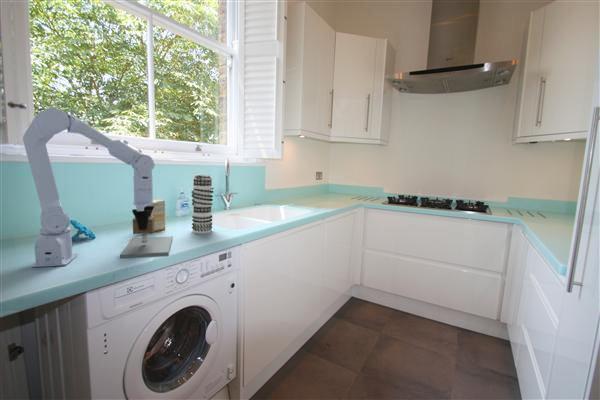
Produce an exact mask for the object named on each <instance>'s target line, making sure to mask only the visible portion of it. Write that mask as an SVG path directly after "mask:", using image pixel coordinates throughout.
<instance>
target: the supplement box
mask: <svg viewBox="0 0 600 400" xmlns="http://www.w3.org/2000/svg"><path fill="white" fill-rule="evenodd" d="M153 202H157V204H153V205H152V206H154V208H153V210H152V213H151V216H154V232H158V231H159V232H160V231H163V230H166V200H163V199H153Z"/></svg>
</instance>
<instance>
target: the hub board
mask: <svg viewBox="0 0 600 400" xmlns="http://www.w3.org/2000/svg"><path fill="white" fill-rule="evenodd" d="M172 242H173V236H169V235H168V236H153V237H152V236H148V234H147V233H145V234H141V237H132V238H131V239H130V240H129V242H128V243H127V245H126V246H125V247H124V248H123V250H122V251H121V253H120V254H119V259H123V258H138V257H139V258H140V257H141V258H142V257H157V256H159V257H160V256H161V257H162V256H169V254H170V250H171V245H172Z"/></svg>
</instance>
